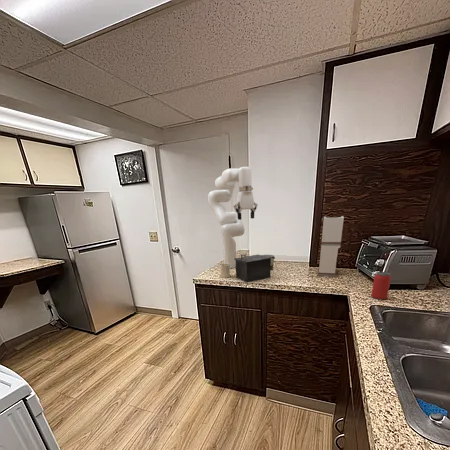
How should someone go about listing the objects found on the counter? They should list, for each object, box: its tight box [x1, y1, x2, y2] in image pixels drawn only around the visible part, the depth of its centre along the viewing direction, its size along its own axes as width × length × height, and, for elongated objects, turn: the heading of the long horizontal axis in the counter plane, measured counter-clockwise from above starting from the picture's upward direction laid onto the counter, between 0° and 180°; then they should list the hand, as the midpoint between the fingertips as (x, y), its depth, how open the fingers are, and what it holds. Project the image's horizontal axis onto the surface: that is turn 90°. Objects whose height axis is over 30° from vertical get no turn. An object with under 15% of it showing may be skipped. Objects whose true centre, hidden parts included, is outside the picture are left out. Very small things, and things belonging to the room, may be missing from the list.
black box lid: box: [234, 252, 271, 264], centre depth 156 cm, size 19×14×5 cm
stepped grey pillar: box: [318, 215, 345, 278], centre depth 153 cm, size 11×11×35 cm
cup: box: [219, 263, 231, 279], centre depth 165 cm, size 6×6×8 cm
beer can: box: [371, 271, 392, 300], centre depth 118 cm, size 7×7×12 cm
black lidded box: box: [235, 259, 272, 283], centre depth 159 cm, size 18×14×12 cm
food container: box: [261, 254, 276, 271], centre depth 176 cm, size 12×6×10 cm, turn 84°
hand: (246, 219), depth 157 cm, fingers open, 9 cm apart
